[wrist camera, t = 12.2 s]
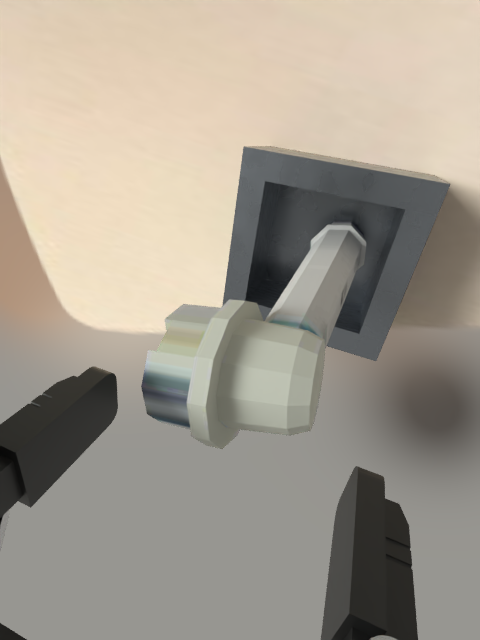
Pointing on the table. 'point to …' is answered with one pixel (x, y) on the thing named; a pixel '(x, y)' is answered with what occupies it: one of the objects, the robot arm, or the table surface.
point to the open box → (313, 216)
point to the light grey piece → (254, 351)
